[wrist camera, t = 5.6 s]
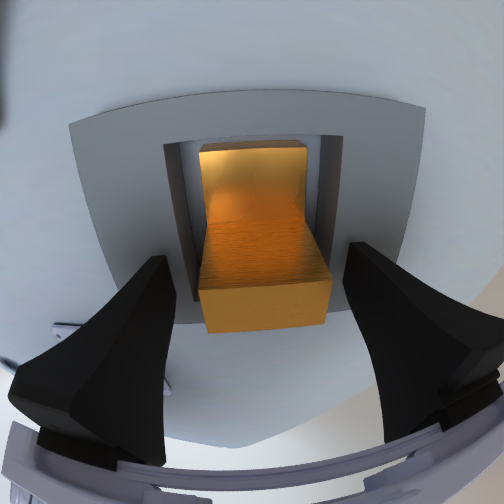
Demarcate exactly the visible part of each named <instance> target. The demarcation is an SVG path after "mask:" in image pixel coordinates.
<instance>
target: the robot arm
mask: <svg viewBox="0 0 504 504" xmlns="http://www.w3.org/2000/svg"><path fill="white" fill-rule="evenodd" d="M342 284H343V287H344V291H345V294H346V297H347V300H348V303H349V306H350V308H351V310H352V313H353V315H354V317H355V320H356V322H357V324H358V326H359V329H360V331H361V333H362V336H363V338H364V340H365V343H366V345H367V348H368V351H369V354H370V357H371V361H372V364H373V368H374V372H375V376H376V381H377V385H378V390H379V395H380V402H381V408H382V417H383V428H384V442H385V444H384V445H380V446H377V447H374V448H371V449H367V450H364V451H360V452H357V453H353V454H349V455H345V456H341V457H337V458H332V459H328V460H323V461H318V462H312V463H307V464H301V465H295V466H286V467H278V468H268V469H256V470H235V471H234V470H233V471H209V470H186V469H174V468H164V467H161V466H163V465H164V464H165V463H166V454H165V443H164V425H163V395H171V389H170V387H169V386H168V384H167V383H166V381H165V379H164V372H165V365H166V359H167V354H168V349H169V344H170V339H171V334H172V329H173V324H174V319H175V311H176V298H177V293H176V290H175V286H174V283H173V279H172V276H171V272H170V268H169V264H168V261H167V257H166V255H160V256H151V257H150V258H149V259H148V260H147V261H146V262H145V263H144V264H143V265H142V266H141V268H140V269H139V270H138V271H137V272H136V273H135V274H134V275H133V276H132V277H131V279H130V280H129V281H128V282H127V283H126V284H125V285H124V286H123V287H122V288H121V289H120V290H119V291H118V293H117V294H116V295H115V296H114V297H113V298H112V299H111V300H110V301H109V302H108V303H107V304H106V305H105V306H104V307H103V308H102V309H101V310H100V311H98V312H97V313H96V314H95V315H94V316H93V317H92V318H91V319H89V320H88V321H87V322H86V323H85V324H84V325H82V326H67V325H52V327H51V331H52V333H53V334H54V335H55V337H56V338H57V340H58V341H59V342H60V343H58V344H57V345H55V346H54V347H52V348H51V349H49V350H47V351H46V352H44V353H43V354H41V355H39V356H37V357H35V358H34V359H32V360H30V361H28V362H26V363H24V364H22V365H20V366H19V367H18V369H17V371H16V374H15V376H14V379H13V381H12V384H11V387H10V390H9V393H8V399H9V401H10V402H11V403H12V405H13V406H14V407H16V408H17V409H18V410H19V411H20V412H22V413H23V414H24V415H25V416H27V417H28V418H30V419H31V420H32V421H34V422H35V423H36V424H38V425H39V426H41V427H40V431H39V432H37V431H35V430H33V429H31V428H28V427H26V426H24V425H22V424H19V423H18V422H15V421H13V422H12V425H11V429H10V433H9V436H8V441H7V445H6V450H5V455H4V460H3V466H2V472H1V473H2V475H3V476H4V477H5V478H7V479H8V480H10V481H11V490H10V502H11V504H212V500H211V499H208V498H200V497H197V496H195V495H184V494H177V493H170V492H163V491H162V490H161V489H160V488H159V487H165V488H174V489H184V490H199V491H252V490H266V489H276V488H285V487H293V486H300V485H305V484H311V483H317V482H322V481H326V480H331V479H335V478H340V477H344V476H348V475H351V474H354V473H358V472H362V471H365V470H368V469H372V468H375V467H378V466H381V465H384V464H386V463H389V462H392V461H394V460H397V459H400V458H402V457H405V456H407V455H408V456H407V458H406V460H405V461H403V462H401V463H399V464H397V465H394V466H392V467H389V468H387V469H384V470H383V471H381V472H379V473H377V474H374V475H372V476H369V477H367V478H365V479H364V480H363V482H364V486H365V490H364V491H363V492H360V493H356V494H352V495H349V496H345V497H341V498H337V499H333V500H329V501H323V502H318V503H313V504H444V503H445V502H447V501H448V500H449V499H451V498H452V497H454V496H455V495H456V494H458V493H459V492H460V491H461V490H463V489H464V488H465V487H466V486H468V485H469V484H470V483H471V482H473V481H474V480H475V479H476V478H477V477H479V476H480V475H481V474H482V473H483V472H484V471H485V470H486V469H487V468H489V466H491V465H492V464H493V463H494V462H495V461H496V460H497V459H498V458H499V457H500V456H501V455H502V454H503V453H504V381H503V382H501V383H500V384H499V383H498V381H497V379H498V378H499V377H500V373H499V371H498V369H497V368H498V367H499V366H500V365H501V364H502V363H503V362H504V319H502V318H498V317H495V316H492V315H488V314H486V313H483V312H480V311H478V310H475V309H473V308H470V307H468V306H466V305H464V304H462V303H460V302H457V301H455V300H453V299H451V298H449V297H447V296H446V295H444V294H442V293H440V292H438V291H437V290H435V289H433V288H431V287H430V286H428V285H426V284H425V283H423V282H422V281H420V280H419V279H417V278H416V277H414V276H413V275H411V274H410V273H408V272H407V271H405V270H404V269H403V268H401V267H400V266H398V265H397V264H396V263H394V262H393V261H391V260H390V259H389V258H387V257H386V256H384V255H383V254H382V253H380V252H379V251H377V250H376V249H374V248H373V247H371V246H370V245H368V244H367V243H365V242H363V241H362V242H350V243H349V249H348V254H347V259H346V265H345V270H344V274H343V279H342ZM157 486H158V487H157Z"/></svg>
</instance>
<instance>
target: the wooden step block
mask: <svg viewBox="0 0 504 504" xmlns="http://www.w3.org/2000/svg"><path fill="white" fill-rule="evenodd" d="M199 158H200V168H201V177H202V185H203V194H204V202H205V210H206V217H207V230H206V236H205V243H204V250H203V257H202V264H201V271H200V279H199V287H198V292H199V297H200V301H201V306H202V310H203V314H204V319H205V323H206V327H207V331H208V333H228V332H245V331H258V330H271V329H281V328H292V327H301V326H310V325H318V324H324V322H325V318H326V313H327V308H328V304H329V299H330V294H331V289H332V284H333V278H332V276H331V274H330V272H329V270H328V267H327V265H326V263H325V261H324V259H323V256H322V254H321V252H320V250H319V248H318V246H317V244H316V241H315V239H314V237H313V235H312V233H311V231H310V229H309V227H308V225H307V223H306V221H305V219H304V212H305V194H306V172H307V147H306V146H305V145H304V144H303V143H302V142H300V141H299V140H265V141H243V142H227V143H215V144H204V145H203V146H202V148H201V150H200V152H199Z"/></svg>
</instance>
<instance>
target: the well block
mask: <svg viewBox="0 0 504 504" xmlns="http://www.w3.org/2000/svg"><path fill="white" fill-rule="evenodd" d="M425 111H426V108H424V107H420V106H416V105H412V104H408V103H403V102H399V101H394V100H389V99H383V98H377V97H371V96H364V95H356V94H348V93H338V92H327V91H312V90H240V91H225V92H213V93H204V94H195V95H187V96H180V97H174V98H168V99H162V100H156V101H151V102H146V103H141V104H136V105H132V106H128V107H123V108H119V109H115V110H112V111H108V112H104V113H101V114H97V115H94V116H91V117H88V118H85V119H82V120H79V121H76V122H73V123H71V124H69V130H70V135H71V141H72V146H73V151H74V155H75V160H76V164H77V168H78V173H79V177H80V181H81V184H82V188H83V192H84V195H85V199H86V202H87V206H88V209H89V212H90V216H91V219H92V222H93V225H94V228H95V231H96V234H97V237H98V240H99V242H100V245H101V248H102V251H103V253H104V256H105V259H106V261H107V264H108V266H109V269H110V271H111V274H112V276H113V279H114V281H115V283H116V286H117V288H118V290H120V289H121V288H122V287H123V286H124V285H125V284H126V283H127V282H128V281H129V280H130V279H131V277H132V276H133V275H134V274H135V273H136V272H137V271H138V270H139V269H140V268H141V266H142V265H143V264H144V263H145V262H146V261H147V260H148V259H149V258H150V257H151V256H160V255H166V257H167V261H168V264H169V268H170V272H171V276H172V279H173V283H174V286H175V290H176V293H177V298H176V311H175V319H174V324H192V323H205V319H204V314H203V310H202V306H201V301H200V297H199V292H198V287H199V279H200V271H201V268H198V263H197V258H196V253H195V247H194V242H193V236H192V231H191V225H190V219H189V213H188V207H187V201H186V194H185V187H184V181H183V174H182V167H181V159H180V151H179V143H178V142H183V141H191V140H200V139H210V138H221V137H234V136H251V135H283V134H306V135H321V155H320V174H319V190H318V204H317V217H316V228H315V241H316V244H317V246H318V248H319V250H320V252H321V254H322V256H323V259H324V261H325V263H326V265H327V267H328V270H329V272H330V274H331V276H332V278H333V284H332V289H331V294H330V299H329V304H328V308H327V313H329V312H337V311H344V310H351V308H350V306H349V303H348V300H347V297H346V294H345V291H344V287H343V284H342V279H343V274H344V270H345V265H346V259H347V254H348V249H349V243H350V242H362V241H363V242H365V243H367V244H368V245H370V246H371V247H373V248H374V249H376V250H377V251H379V252H380V253H382V254H383V255H384V256H386V257H387V258H389V259H390V260H391V261H393V262H394V263H396V261H397V258H398V255H399V251H400V248H401V244H402V241H403V237H404V233H405V229H406V226H407V222H408V218H409V213H410V209H411V205H412V200H413V195H414V190H415V185H416V180H417V175H418V169H419V163H420V156H421V149H422V141H423V133H424V123H425Z"/></svg>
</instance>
